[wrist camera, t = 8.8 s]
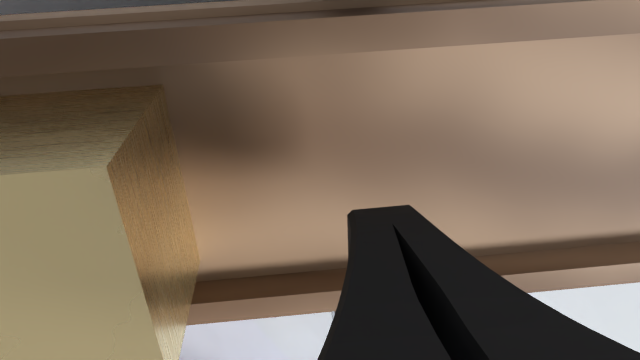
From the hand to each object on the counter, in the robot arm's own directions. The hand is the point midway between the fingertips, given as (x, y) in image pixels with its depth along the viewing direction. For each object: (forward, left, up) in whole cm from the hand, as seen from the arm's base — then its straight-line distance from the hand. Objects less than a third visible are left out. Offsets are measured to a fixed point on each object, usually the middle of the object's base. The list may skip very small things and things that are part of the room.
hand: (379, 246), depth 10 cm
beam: (0, 0, -5) cm, 5 cm away
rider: (0, +7, -4) cm, 8 cm away
